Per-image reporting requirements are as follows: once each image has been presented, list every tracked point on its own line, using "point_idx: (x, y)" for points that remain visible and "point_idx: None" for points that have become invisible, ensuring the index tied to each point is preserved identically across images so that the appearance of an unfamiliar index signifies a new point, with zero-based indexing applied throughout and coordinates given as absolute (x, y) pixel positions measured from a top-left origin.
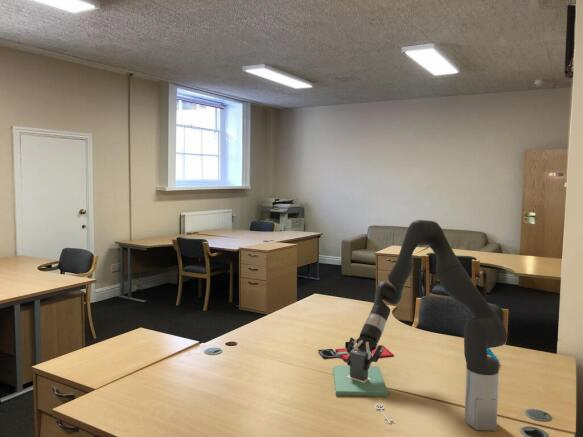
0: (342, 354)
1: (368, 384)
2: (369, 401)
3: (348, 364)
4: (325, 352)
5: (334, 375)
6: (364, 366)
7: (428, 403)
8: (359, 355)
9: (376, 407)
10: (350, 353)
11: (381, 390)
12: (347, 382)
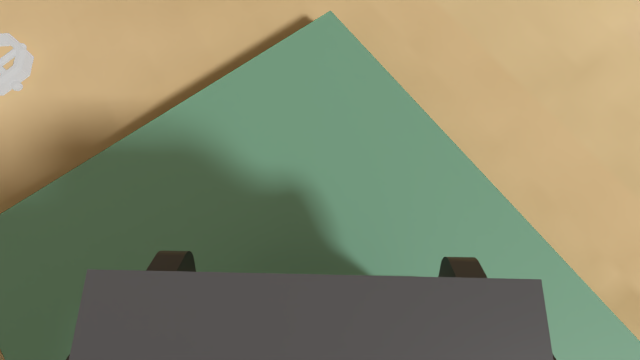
0: None
1: None
2: (90, 97)
3: (445, 265)
4: None
5: (530, 226)
6: (156, 267)
7: None
8: (230, 273)
9: (3, 33)
10: (507, 281)
11: (14, 237)
12: (345, 179)
